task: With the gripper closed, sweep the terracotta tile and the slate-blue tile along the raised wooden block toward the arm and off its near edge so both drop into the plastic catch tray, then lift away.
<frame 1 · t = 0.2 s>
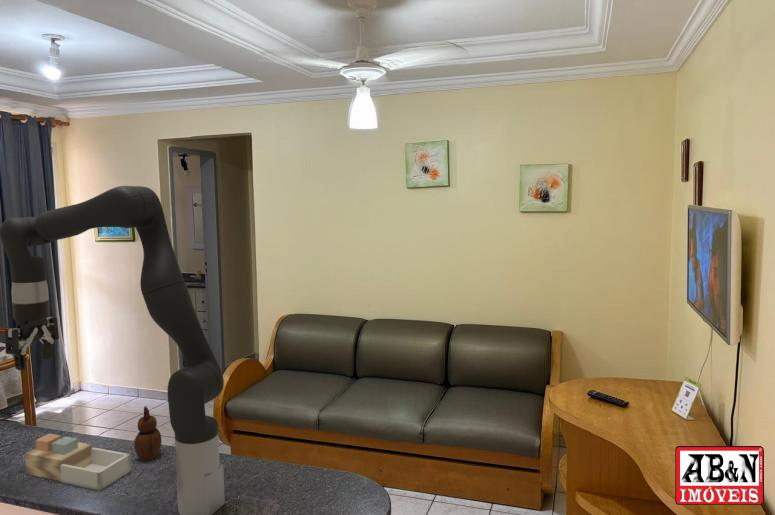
hand: (34, 364, 136), 29 cm above the counter, tool pointing down, fingers open, 8 cm apart
wooden block: (60, 469, 142), on the counter
wooden figurine: (149, 457, 149), on the counter
catch tray: (97, 476, 138), on the counter
slate tile: (65, 450, 141), point 5 cm above the counter, touching wooden block
terracotta tile: (48, 447, 142), point 5 cm above the counter, touching wooden block
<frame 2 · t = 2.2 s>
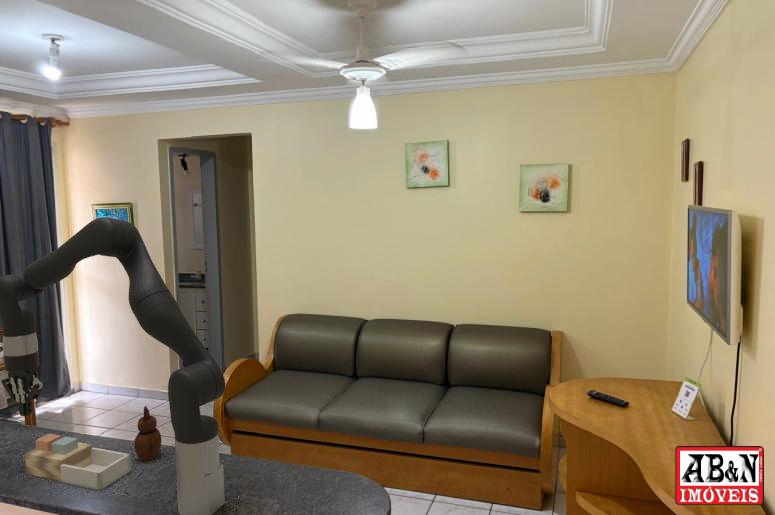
hand: (25, 415, 144), 13 cm above the counter, tool pointing down, fingers closed
nothing on the counter moved.
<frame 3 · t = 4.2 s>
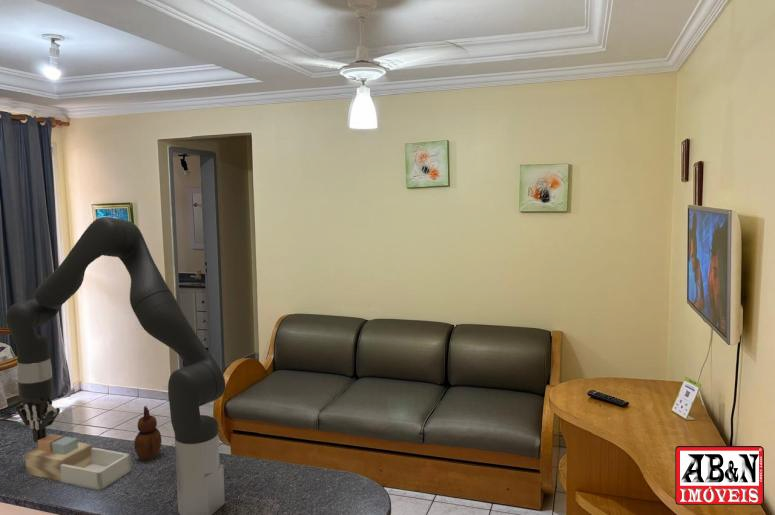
hand: (39, 441, 143), 7 cm above the counter, tool pointing down, fingers closed
terracotta tile: (51, 447, 142), point 6 cm above the counter, touching gripper
everything else where it was.
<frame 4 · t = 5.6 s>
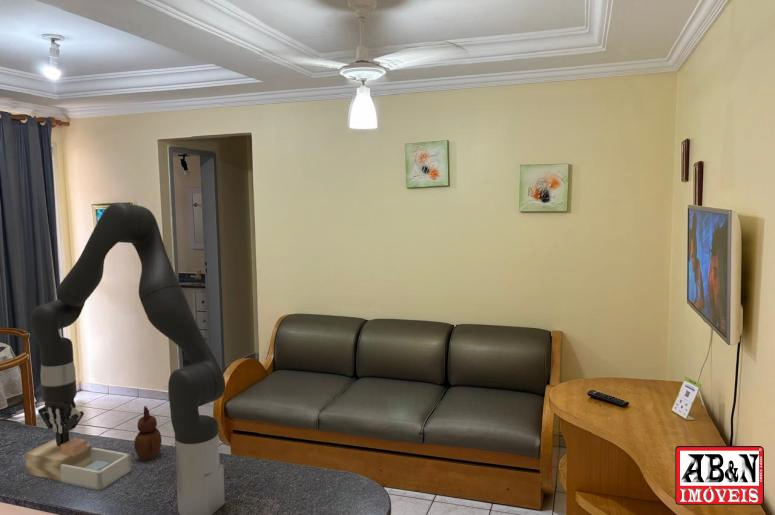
hand: (62, 445, 141), 7 cm above the counter, tool pointing down, fingers closed
slate tile: (97, 465, 138), point 3 cm above the counter, tilted 180°, touching catch tray
terracotta tile: (74, 451, 140), point 6 cm above the counter, touching gripper
everything else where it was.
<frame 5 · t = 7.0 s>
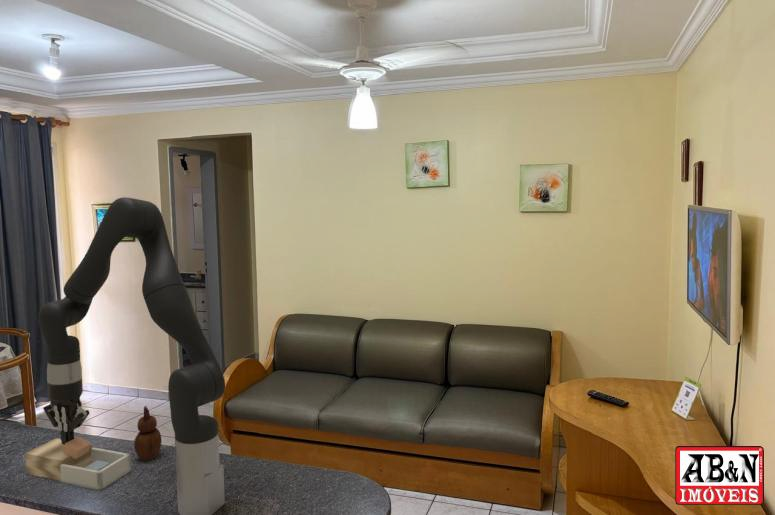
hand: (67, 443, 140), 8 cm above the counter, tool pointing down, fingers closed
terracotta tile: (76, 451, 140), point 6 cm above the counter, tilted 21°, touching wooden block, gripper
everything else where it was.
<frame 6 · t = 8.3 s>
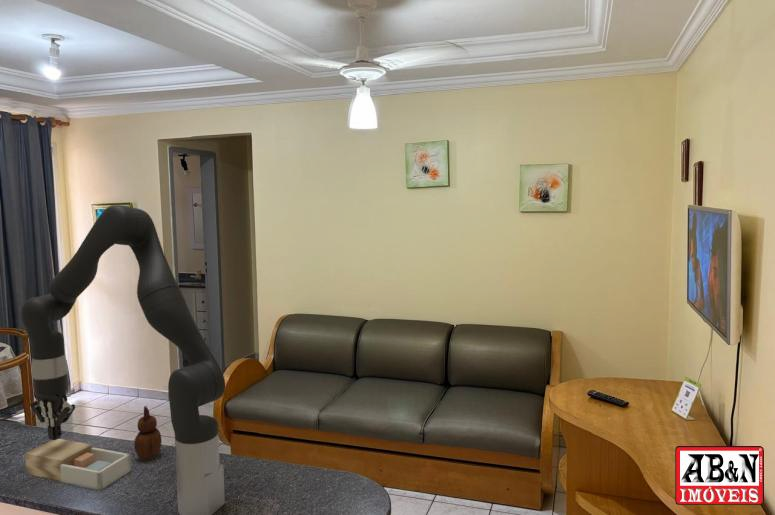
hand: (54, 438, 141), 8 cm above the counter, tool pointing down, fingers closed
terracotta tile: (81, 463, 140), point 2 cm above the counter, tilted 90°, touching catch tray
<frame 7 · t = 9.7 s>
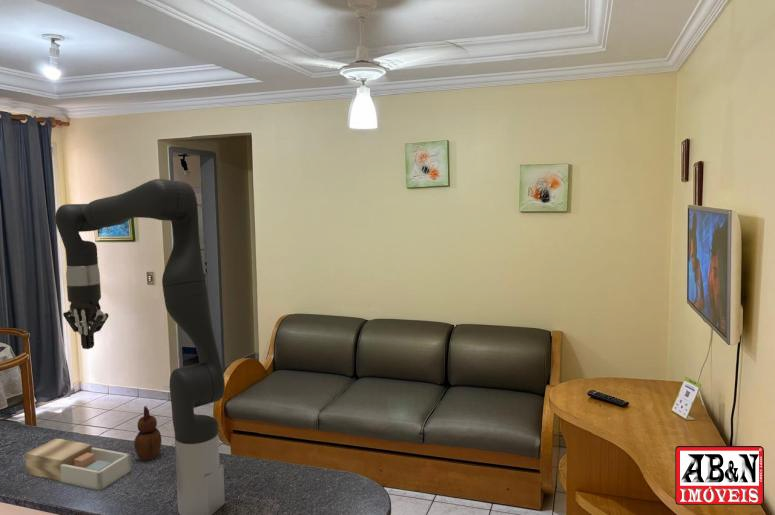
hand: (87, 348, 143), 31 cm above the counter, tool pointing down, fingers closed
nothing on the counter moved.
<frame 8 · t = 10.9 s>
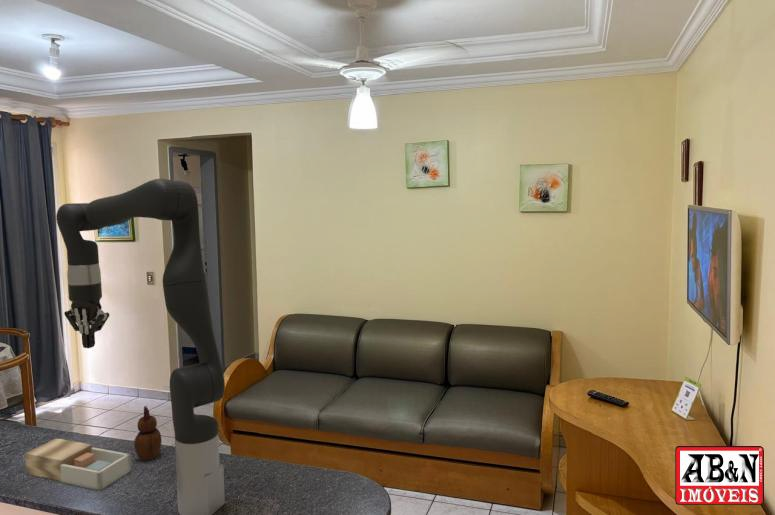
hand: (88, 347, 143), 31 cm above the counter, tool pointing down, fingers closed
nothing on the counter moved.
at the end: terracotta tile inside the target area on the catch tray (5.4 cm from its centre), point 2.5 cm above the catch tray's base; slate tile inside the target area on the catch tray (0.4 cm from its centre), point 3.0 cm above the catch tray's base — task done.
